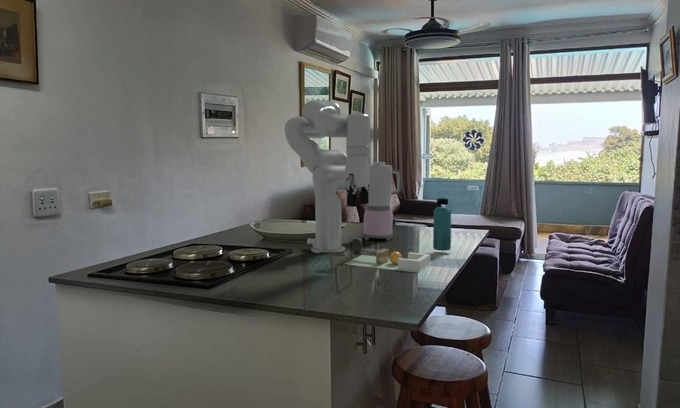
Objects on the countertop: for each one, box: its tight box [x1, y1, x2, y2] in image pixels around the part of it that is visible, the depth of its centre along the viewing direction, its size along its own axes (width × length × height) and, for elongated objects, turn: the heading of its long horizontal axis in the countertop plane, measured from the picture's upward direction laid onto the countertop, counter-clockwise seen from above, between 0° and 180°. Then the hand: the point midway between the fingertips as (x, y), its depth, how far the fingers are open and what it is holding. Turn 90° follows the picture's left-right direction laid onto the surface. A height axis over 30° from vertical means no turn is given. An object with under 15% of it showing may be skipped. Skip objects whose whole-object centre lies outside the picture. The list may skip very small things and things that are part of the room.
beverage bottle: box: [432, 197, 452, 252], centre depth 182 cm, size 6×7×20 cm
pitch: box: [343, 254, 434, 274], centre depth 162 cm, size 25×15×1 cm, turn 64°
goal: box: [398, 251, 431, 272], centre depth 158 cm, size 7×11×3 cm, turn 154°
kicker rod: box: [352, 237, 390, 264], centre depth 165 cm, size 12×6×7 cm, turn 64°
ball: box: [389, 251, 403, 264], centre depth 161 cm, size 4×4×4 cm
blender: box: [363, 161, 402, 242], centre depth 209 cm, size 16×12×32 cm
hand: (357, 205), depth 165 cm, fingers open, 9 cm apart
